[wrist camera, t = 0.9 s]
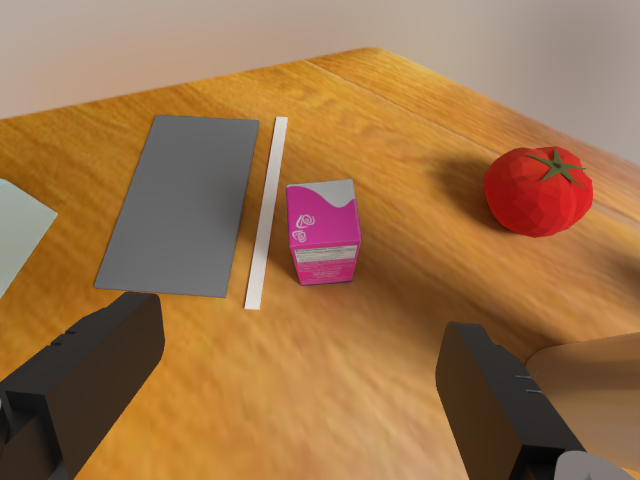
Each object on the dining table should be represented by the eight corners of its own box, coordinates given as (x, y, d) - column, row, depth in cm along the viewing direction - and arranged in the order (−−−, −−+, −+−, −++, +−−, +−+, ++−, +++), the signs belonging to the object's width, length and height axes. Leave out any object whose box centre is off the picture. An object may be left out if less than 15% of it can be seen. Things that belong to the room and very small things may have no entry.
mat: (259, 123, 44) (258, 120, 44) (225, 297, 35) (224, 296, 34) (157, 117, 45) (155, 114, 44) (96, 288, 35) (93, 287, 35)
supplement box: (295, 238, 37) (285, 181, 27) (346, 234, 38) (356, 176, 27) (298, 287, 35) (288, 246, 25) (353, 283, 35) (366, 240, 25)
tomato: (547, 261, 36) (608, 228, 28) (458, 221, 38) (493, 180, 31) (566, 197, 39) (625, 152, 32) (483, 163, 41) (520, 113, 34)
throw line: (287, 119, 45) (287, 117, 44) (259, 310, 34) (258, 309, 34) (276, 118, 45) (276, 116, 44) (245, 308, 34) (244, 308, 34)
